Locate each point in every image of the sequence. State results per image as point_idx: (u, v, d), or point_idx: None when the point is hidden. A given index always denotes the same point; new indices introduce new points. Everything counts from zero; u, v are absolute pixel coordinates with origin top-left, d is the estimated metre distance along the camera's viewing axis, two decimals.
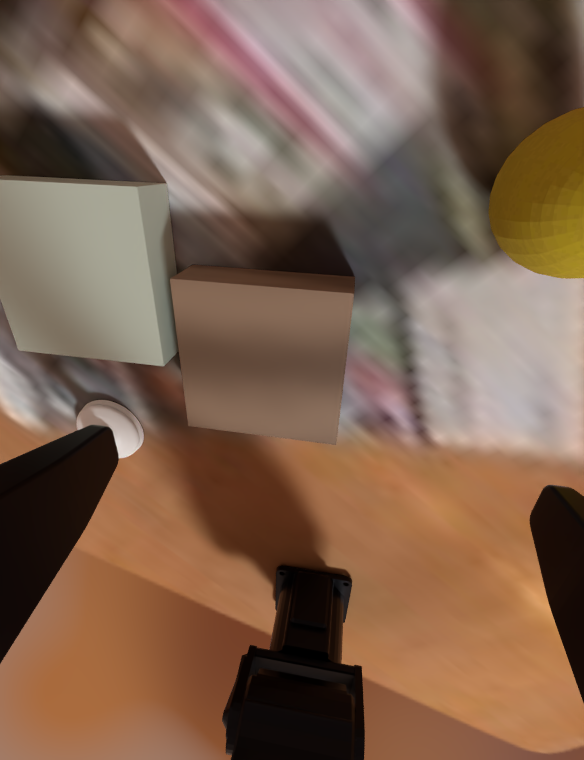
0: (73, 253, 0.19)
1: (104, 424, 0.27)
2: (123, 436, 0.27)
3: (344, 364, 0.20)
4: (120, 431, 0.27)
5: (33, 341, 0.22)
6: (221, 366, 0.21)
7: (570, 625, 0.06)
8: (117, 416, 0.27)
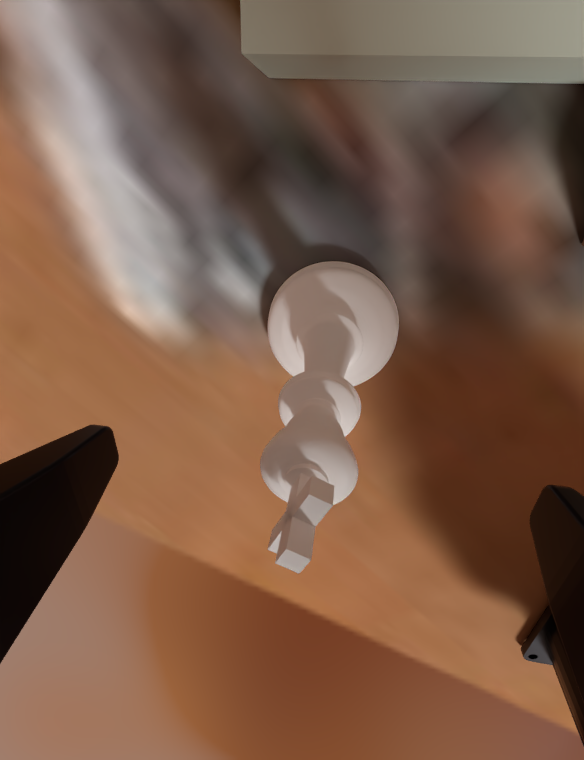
0: None
1: (343, 307, 0.13)
2: (375, 336, 0.13)
3: None
4: (372, 324, 0.13)
5: (294, 10, 0.08)
6: None
7: (570, 625, 0.06)
8: (372, 288, 0.13)
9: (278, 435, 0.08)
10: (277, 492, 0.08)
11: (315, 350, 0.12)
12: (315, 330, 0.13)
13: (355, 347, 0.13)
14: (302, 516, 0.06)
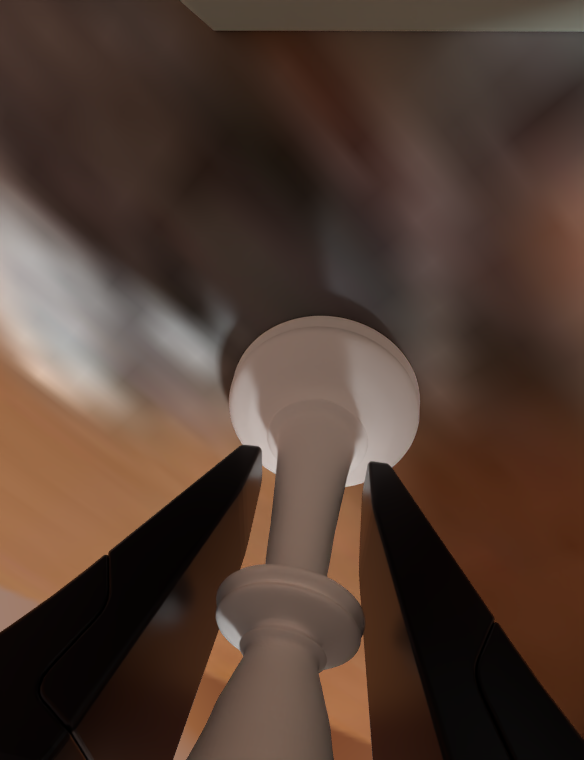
0: None
1: (338, 389, 0.09)
2: (385, 427, 0.09)
3: None
4: (381, 411, 0.09)
5: None
6: None
7: (363, 590, 0.07)
8: (381, 361, 0.08)
9: None
10: None
11: (290, 475, 0.07)
12: (294, 429, 0.08)
13: (356, 449, 0.09)
14: None
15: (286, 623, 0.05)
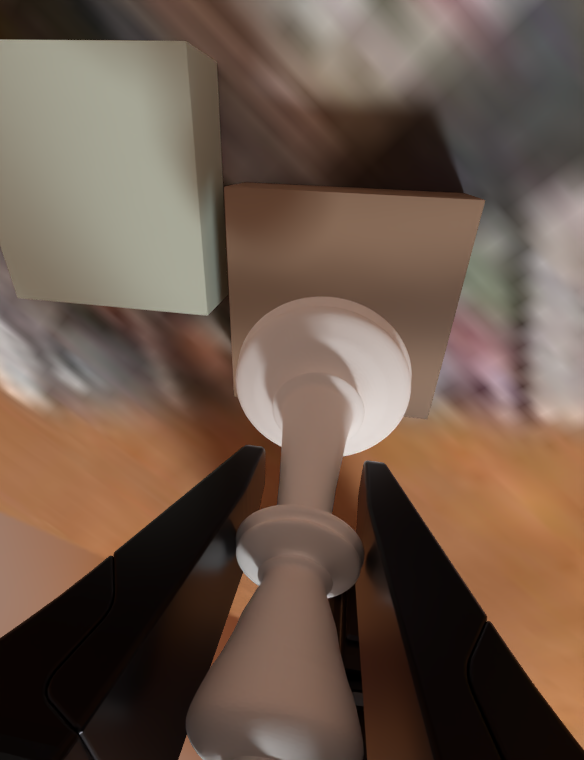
0: (92, 152, 0.14)
1: (340, 364, 0.09)
2: (380, 402, 0.10)
3: (455, 307, 0.15)
4: (377, 387, 0.10)
5: (36, 284, 0.17)
6: None
7: (359, 589, 0.07)
8: (380, 341, 0.09)
9: (218, 690, 0.04)
10: None
11: (297, 437, 0.08)
12: (299, 399, 0.09)
13: (353, 420, 0.09)
14: None
15: (300, 553, 0.06)
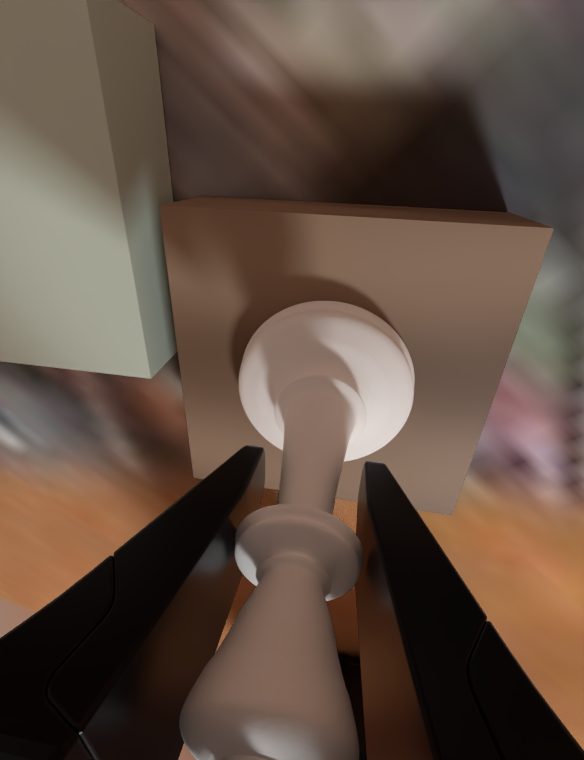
0: None
1: (343, 368, 0.09)
2: (382, 406, 0.10)
3: (498, 377, 0.10)
4: (379, 391, 0.10)
5: None
6: None
7: (358, 589, 0.07)
8: (383, 345, 0.09)
9: (212, 687, 0.04)
10: None
11: (298, 439, 0.08)
12: (301, 401, 0.09)
13: (355, 424, 0.09)
14: None
15: (299, 553, 0.06)
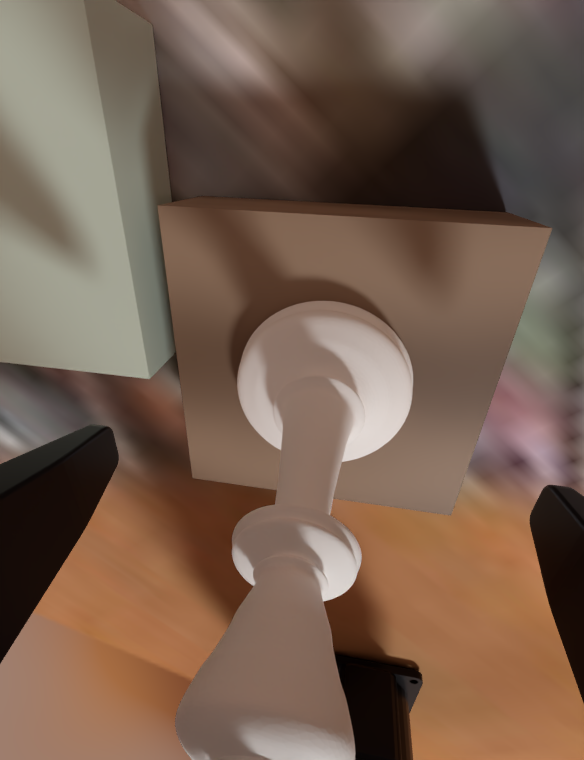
0: None
1: (341, 368, 0.09)
2: (381, 406, 0.10)
3: (497, 377, 0.10)
4: (378, 391, 0.10)
5: None
6: None
7: (570, 625, 0.06)
8: (381, 345, 0.09)
9: (208, 687, 0.04)
10: None
11: (296, 439, 0.08)
12: (300, 401, 0.09)
13: (354, 424, 0.09)
14: None
15: (296, 553, 0.06)
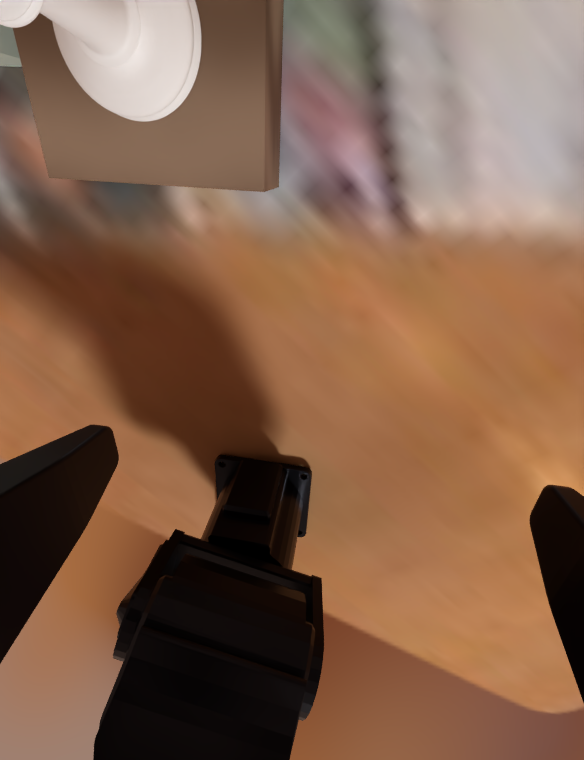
0: None
1: None
2: (161, 19, 0.12)
3: (263, 4, 0.12)
4: (154, 0, 0.12)
5: None
6: None
7: (570, 625, 0.06)
8: None
9: None
10: None
11: None
12: None
13: (128, 17, 0.11)
14: None
15: None
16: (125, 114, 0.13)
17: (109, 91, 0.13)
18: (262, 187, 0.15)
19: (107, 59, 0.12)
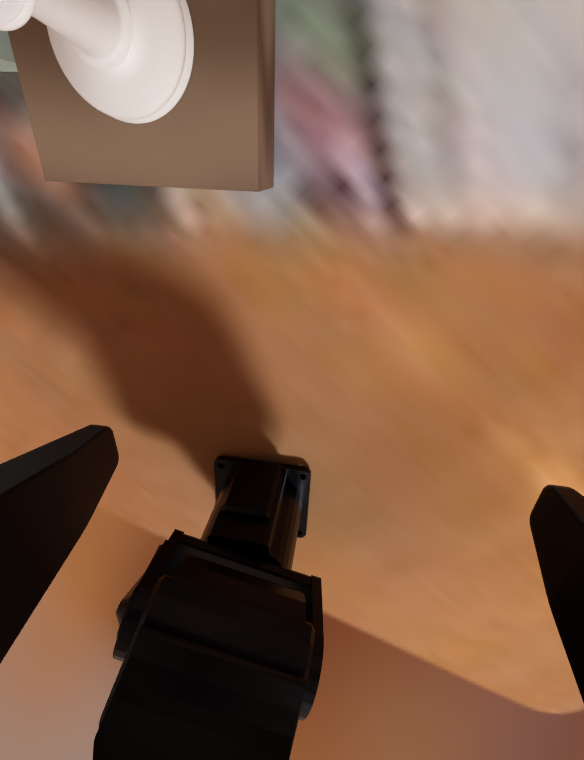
0: None
1: None
2: (153, 22, 0.12)
3: (254, 6, 0.12)
4: (146, 3, 0.12)
5: None
6: None
7: (570, 625, 0.06)
8: None
9: None
10: None
11: None
12: None
13: (121, 20, 0.11)
14: None
15: None
16: (119, 116, 0.14)
17: (103, 94, 0.13)
18: (256, 187, 0.15)
19: (100, 62, 0.12)
